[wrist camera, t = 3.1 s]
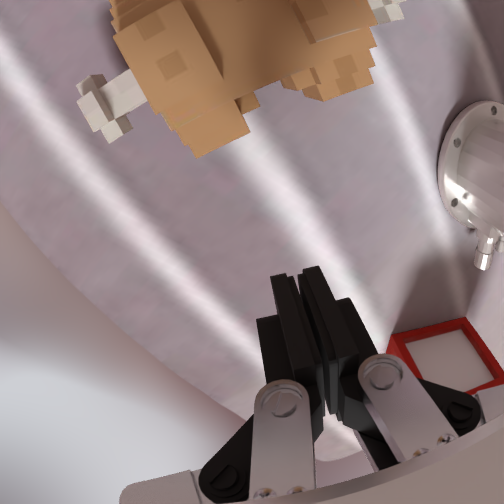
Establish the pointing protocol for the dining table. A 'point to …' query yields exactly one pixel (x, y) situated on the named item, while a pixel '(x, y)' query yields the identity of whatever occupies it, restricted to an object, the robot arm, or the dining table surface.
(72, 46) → the dining table surface
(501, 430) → the robot arm
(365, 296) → the dining table surface
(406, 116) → the dining table surface
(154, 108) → the voxel meat on bone
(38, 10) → the dining table surface
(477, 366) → the pendant light
